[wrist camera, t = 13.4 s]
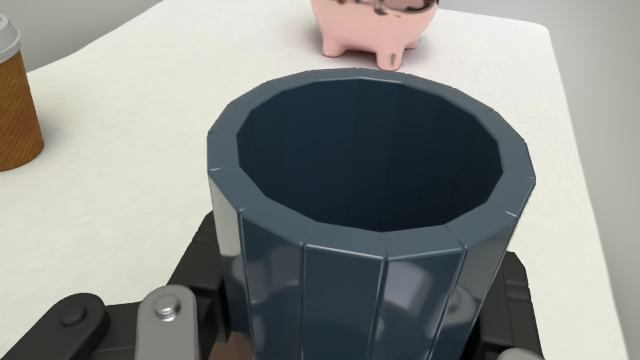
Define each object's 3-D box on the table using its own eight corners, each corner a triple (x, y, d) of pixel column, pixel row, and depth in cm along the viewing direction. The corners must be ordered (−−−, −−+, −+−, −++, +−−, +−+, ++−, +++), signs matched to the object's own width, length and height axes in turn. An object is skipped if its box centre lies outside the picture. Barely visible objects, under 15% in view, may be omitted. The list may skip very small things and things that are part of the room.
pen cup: (219, 385, 16) (158, 108, 9) (352, 308, 18) (385, 48, 11) (309, 564, 12) (327, 330, 5) (460, 437, 15) (605, 168, 8)
